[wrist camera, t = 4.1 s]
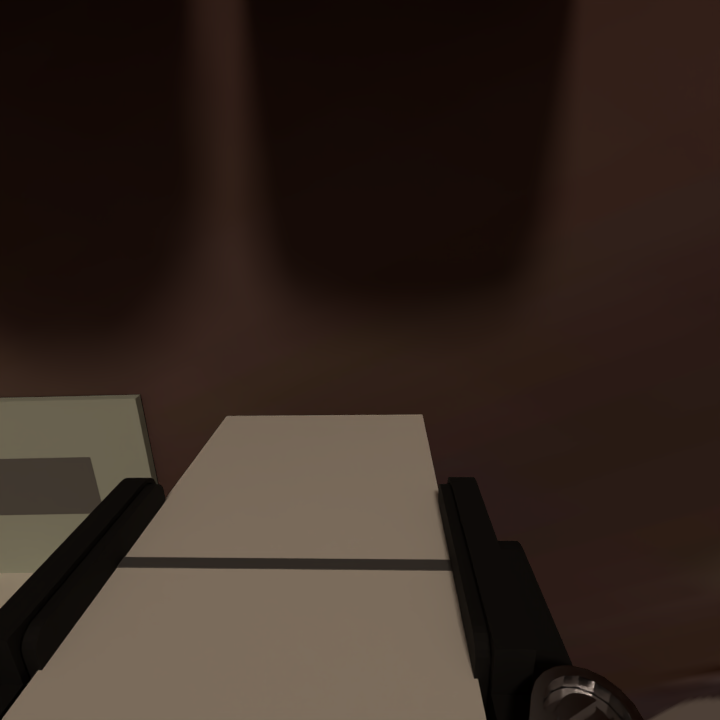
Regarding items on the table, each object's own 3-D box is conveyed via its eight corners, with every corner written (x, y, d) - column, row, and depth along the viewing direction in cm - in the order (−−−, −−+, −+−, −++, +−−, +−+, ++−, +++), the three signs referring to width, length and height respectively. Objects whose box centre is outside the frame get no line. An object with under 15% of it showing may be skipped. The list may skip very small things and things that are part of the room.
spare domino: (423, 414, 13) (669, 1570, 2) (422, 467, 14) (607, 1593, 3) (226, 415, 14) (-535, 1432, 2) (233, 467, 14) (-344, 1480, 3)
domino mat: (139, 394, 18) (134, 398, 18) (233, 858, 28) (231, 867, 28) (-149, 401, 18) (-161, 405, 18) (47, 859, 28) (42, 868, 28)
